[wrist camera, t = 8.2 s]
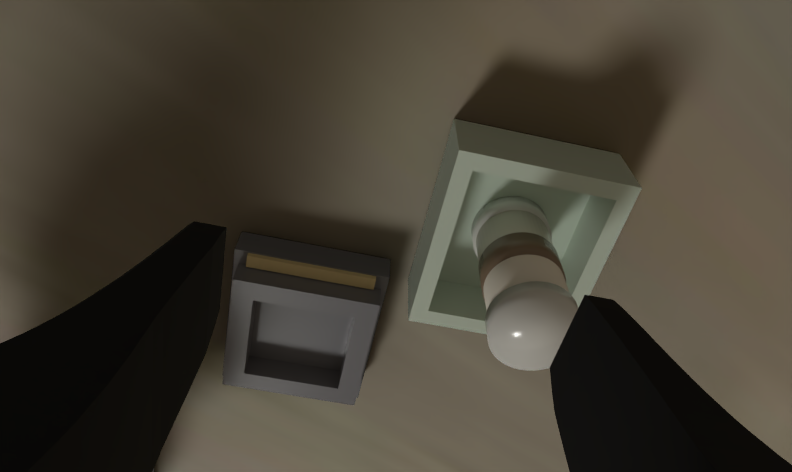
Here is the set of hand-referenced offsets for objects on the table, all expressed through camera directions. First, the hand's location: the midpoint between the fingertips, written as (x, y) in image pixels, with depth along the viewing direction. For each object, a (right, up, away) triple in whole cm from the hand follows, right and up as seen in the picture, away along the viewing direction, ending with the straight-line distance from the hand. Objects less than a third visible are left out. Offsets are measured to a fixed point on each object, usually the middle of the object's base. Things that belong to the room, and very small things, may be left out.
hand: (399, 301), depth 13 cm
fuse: (+4, +2, +11) cm, 12 cm away
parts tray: (+4, +2, +11) cm, 12 cm away
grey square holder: (-4, -2, +14) cm, 14 cm away
